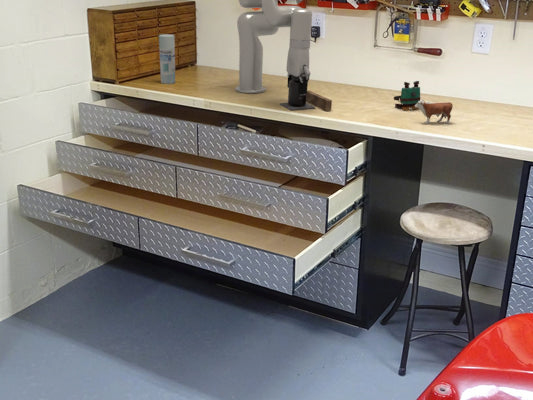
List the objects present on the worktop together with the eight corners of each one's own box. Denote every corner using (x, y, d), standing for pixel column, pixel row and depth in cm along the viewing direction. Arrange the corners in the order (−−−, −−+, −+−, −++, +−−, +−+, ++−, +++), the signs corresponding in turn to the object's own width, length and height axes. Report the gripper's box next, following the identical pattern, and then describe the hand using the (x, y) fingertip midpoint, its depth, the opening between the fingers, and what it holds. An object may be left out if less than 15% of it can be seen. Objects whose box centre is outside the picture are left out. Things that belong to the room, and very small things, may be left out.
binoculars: (407, 79, 246) (425, 81, 237) (406, 106, 249) (423, 109, 240) (389, 80, 242) (406, 82, 233) (388, 108, 245) (405, 111, 236)
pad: (279, 104, 242) (279, 103, 242) (303, 102, 246) (303, 101, 246) (291, 110, 233) (291, 109, 233) (315, 108, 237) (315, 107, 237)
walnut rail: (304, 100, 249) (304, 90, 248) (308, 100, 250) (309, 90, 248) (326, 111, 234) (327, 100, 232) (331, 111, 235) (331, 100, 233)
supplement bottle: (304, 107, 236) (306, 75, 232) (286, 106, 237) (287, 74, 233) (307, 103, 242) (308, 72, 238) (289, 102, 243) (290, 70, 239)
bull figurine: (411, 121, 224) (414, 98, 221) (448, 121, 225) (451, 98, 222) (415, 124, 220) (418, 101, 217) (453, 124, 221) (456, 101, 218)
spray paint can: (158, 83, 273) (156, 35, 266) (163, 80, 279) (162, 34, 272) (172, 84, 272) (171, 36, 265) (177, 81, 278) (176, 34, 271)
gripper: (280, 40, 237) (278, 85, 244) (301, 48, 223) (298, 96, 229) (298, 40, 240) (295, 84, 247) (320, 47, 225) (316, 95, 232)
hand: (297, 90), depth 238 cm, fingers open, 9 cm apart
